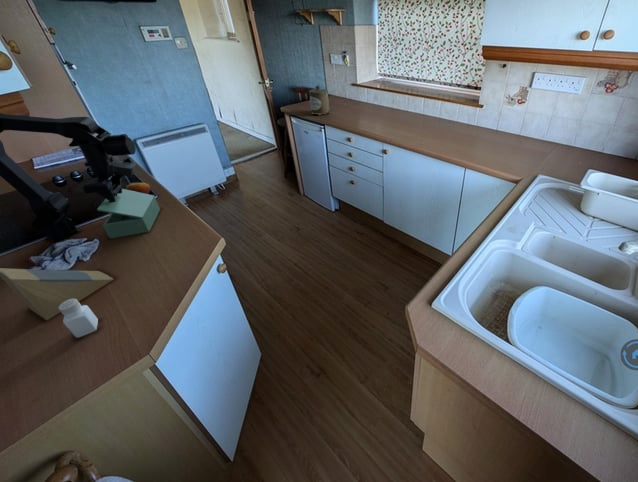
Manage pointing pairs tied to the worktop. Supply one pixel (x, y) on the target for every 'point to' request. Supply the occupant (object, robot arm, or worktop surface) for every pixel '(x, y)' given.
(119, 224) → the green lidded box
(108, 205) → the bin lid
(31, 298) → the sandwich container
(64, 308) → the white pill bottle
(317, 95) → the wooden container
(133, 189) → the fruit
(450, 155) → the worktop surface
